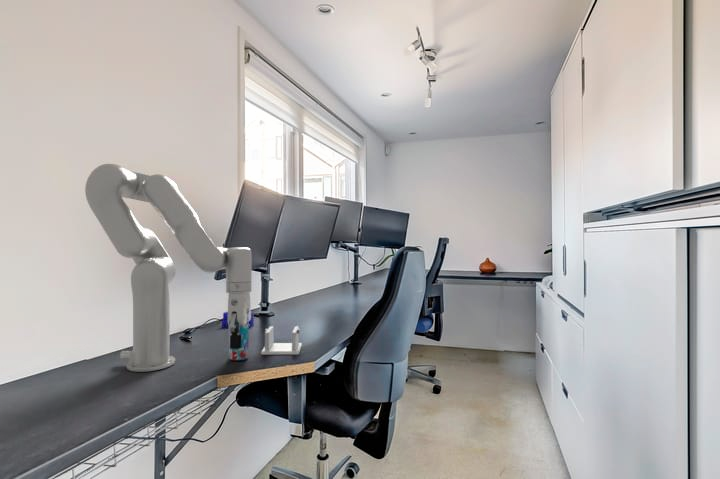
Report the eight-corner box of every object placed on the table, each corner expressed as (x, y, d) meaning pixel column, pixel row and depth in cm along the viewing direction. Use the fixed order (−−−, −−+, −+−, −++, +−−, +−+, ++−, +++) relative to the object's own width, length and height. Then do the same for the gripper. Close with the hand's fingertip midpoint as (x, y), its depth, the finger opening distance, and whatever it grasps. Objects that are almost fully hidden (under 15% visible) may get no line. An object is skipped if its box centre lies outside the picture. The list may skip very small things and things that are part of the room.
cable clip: (221, 328, 164) (221, 313, 164) (225, 325, 168) (225, 311, 168) (250, 328, 163) (250, 314, 163) (253, 326, 168) (253, 312, 168)
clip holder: (261, 354, 127) (261, 332, 127) (267, 345, 137) (267, 325, 137) (298, 354, 127) (298, 332, 127) (301, 345, 137) (301, 325, 137)
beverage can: (241, 363, 118) (241, 313, 118) (224, 361, 119) (224, 312, 119) (252, 357, 123) (252, 310, 123) (236, 355, 125) (236, 308, 125)
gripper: (244, 291, 113) (243, 353, 113) (257, 283, 130) (256, 338, 130) (217, 291, 112) (217, 353, 113) (234, 283, 130) (234, 338, 130)
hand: (238, 344), depth 121 cm, fingers closed on beverage can, 5 cm apart
